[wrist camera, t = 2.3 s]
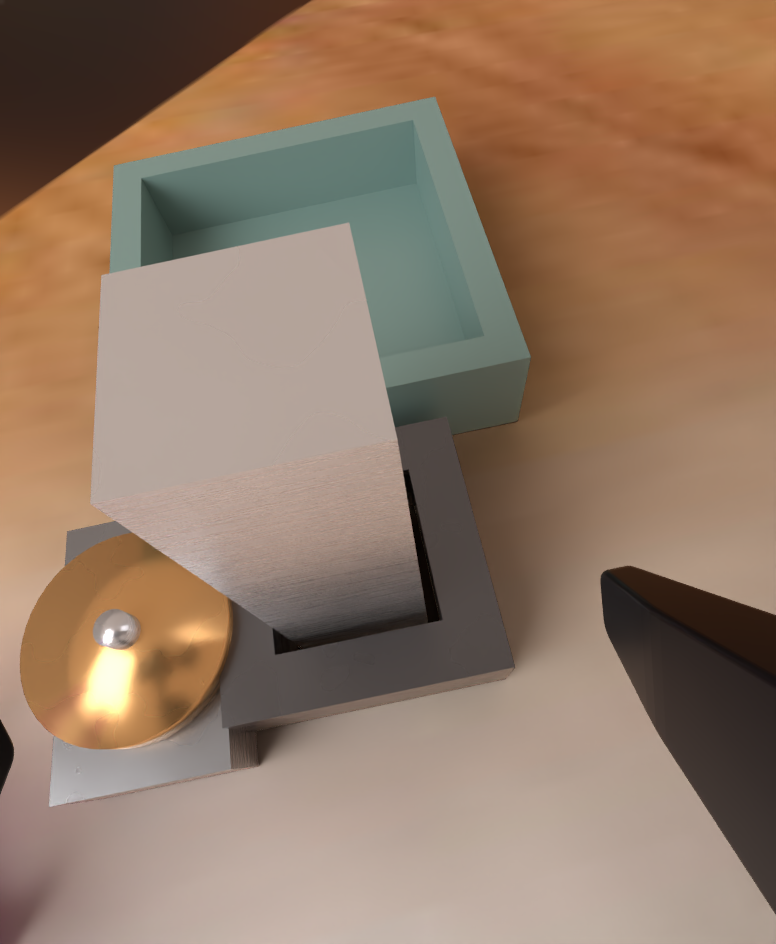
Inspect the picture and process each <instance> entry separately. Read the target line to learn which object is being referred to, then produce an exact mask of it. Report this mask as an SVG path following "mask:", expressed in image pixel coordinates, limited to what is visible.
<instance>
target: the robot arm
mask: <svg viewBox="0 0 776 944" xmlns="http://www.w3.org/2000/svg"><path fill="white" fill-rule="evenodd" d="M601 594H602V605H603V616H604V624H605V628H606V631H607V634H608V636H609V638H610V640H611V642H612V644H613V646H614V648H615V650H616V652H617V654H618V656H619V658H620V660H621V662H622V664H623V666H624V668H625V670H626V672H627V674H628V676H629V678H630V680H631V682H632V684H633V686H634V688H635V690H636V692H637V694H638V696H639V698H640V700H641V702H642V704H643V706H644V708H645V710H646V712H647V714H648V716H649V718H650V719H651V721H652V723H653V725H654V727H655V729H656V731H657V732H658V734H659V735H660V737H661V739H662V740H663V742H664V744H665V745H666V747H667V748H668V750H669V751H670V753H671V754H672V756H673V758H674V759H675V761H676V762H677V764H678V765H679V767H680V768H681V770H682V771H683V773H684V774H685V776H686V778H687V779H688V781H689V782H690V784H691V785H692V787H693V788H694V790H695V791H696V793H697V794H698V796H699V797H700V799H701V801H702V802H703V804H704V805H705V807H706V808H707V810H708V811H709V813H710V814H711V816H712V817H713V819H714V821H715V822H716V824H717V825H718V827H719V828H720V830H721V831H722V833H723V834H724V836H725V837H726V839H727V840H728V842H729V844H730V845H731V847H732V848H733V850H734V851H735V853H736V854H737V856H738V857H739V859H740V860H741V862H742V863H743V865H744V867H745V868H746V870H747V871H748V873H749V874H750V876H751V877H752V879H753V880H754V882H755V883H756V885H757V887H758V888H759V890H760V891H761V893H762V894H763V896H764V897H765V899H766V900H767V902H768V903H769V905H770V906H771V908H772V910H773V911H774V913H775V914H776V615H774V614H771V613H768V612H765V611H762V610H759V609H756V608H753V607H750V606H747V605H744V604H741V603H738V602H736V601H733V600H730V599H727V598H724V597H721V596H718V595H715V594H712V593H709V592H706V591H703V590H700V589H697V588H695V587H692V586H689V585H686V584H683V583H680V582H677V581H674V580H671V579H668V578H665V577H662V576H659V575H656V574H654V573H651V572H648V571H645V570H642V569H639V568H636V567H633V566H624V567H619V568H615V569H610V570H606V571H604V572H603V573H602V575H601ZM13 757H14V747H13V743H12V741H11V739H10V737H9V735H8V733H7V731H6V729H5V727H4V725H3V724H2V722H1V720H0V794H1V791H2V789H3V786H4V783H5V781H6V778H7V775H8V773H9V770H10V768H11V765H12V762H13Z"/></svg>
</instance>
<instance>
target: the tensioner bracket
mask: <svg viewBox="0 0 776 944" xmlns="http://www.w3.org/2000/svg"><path fill="white" fill-rule="evenodd" d="M395 431H396V435H397V440H398V446H399V452H400V458H401V464H402V470H403V476H404V482H405V488H406V494H407V500H408V506H412V505H414V508H415V512H416V517H417V521H418V526H419V530H420V535H421V539H422V543H423V548H424V552H425V557H426V561H427V566H428V570H429V575H430V579H431V584H432V588H433V593H434V597H435V601H436V606H437V610H438V615H439V619H440V621H436V622H431V623H427V624H422V625H417V626H412V627H408V628H403V629H398V630H393V631H388V632H384V633H379V634H374V635H369V636H365V637H360V638H355V639H350V640H345V641H341V642H336V643H331V644H326V645H322V646H317V647H312V648H307V649H302V650H298V648H297V644H296V643H294V642H293V641H291V640H290V639H288V638H287V637H285V636H284V635H282V634H281V633H279V632H278V631H276V630H275V629H274V628H272V627H271V626H269V625H268V624H266V623H265V622H263V621H262V620H260V619H259V618H257V617H256V616H254V615H253V614H251V613H250V612H249V611H247V610H246V609H244V608H243V607H241V606H240V605H238V604H237V603H235V602H234V601H232V600H231V599H229V598H228V597H227V596H225V595H224V594H222V593H221V592H219V591H218V590H216V589H215V588H213V587H212V586H210V585H209V584H207V583H206V582H204V581H203V580H202V579H200V578H199V577H197V576H196V575H194V574H193V573H191V572H190V571H188V570H187V569H185V568H184V567H182V566H181V565H180V564H178V563H177V562H175V561H174V560H172V559H171V558H169V557H168V556H166V555H165V554H163V553H162V552H160V551H159V550H157V549H156V548H155V547H153V546H152V545H150V544H149V543H147V542H146V541H144V540H143V539H141V538H140V537H138V536H137V535H135V534H134V533H132V532H131V531H130V530H128V529H127V528H125V527H124V526H122V525H121V524H119V523H118V522H116V521H114V522H109V523H105V524H100V525H95V526H90V527H86V528H81V529H76V530H71V531H67V542H66V557H65V567H64V568H63V569H62V570H61V571H60V572H59V573H58V574H57V575H56V576H55V577H54V578H53V580H52V581H51V582H50V583H49V585H48V586H47V587H46V589H45V590H44V592H43V593H42V595H41V596H40V598H39V599H38V601H37V603H36V605H35V607H34V609H33V611H32V613H31V615H30V618H29V620H28V623H27V625H26V629H25V633H24V636H23V640H22V646H21V653H20V674H21V682H22V687H23V691H24V695H25V697H26V700H27V702H28V705H29V707H30V709H31V710H32V712H33V713H34V715H35V717H36V718H37V719H38V721H39V722H40V723H41V724H42V725H43V726H44V728H46V729H47V730H48V731H49V732H51V733H52V734H53V735H54V738H53V754H52V769H51V784H50V799H49V807H52V806H59V805H66V804H73V803H79V802H86V801H93V800H100V799H105V798H109V797H114V796H119V795H124V794H129V793H133V792H138V791H143V790H148V789H152V788H157V787H162V786H167V785H172V784H176V783H181V782H186V781H191V780H196V779H200V778H205V777H210V776H215V775H220V774H224V773H229V772H234V771H239V770H244V769H248V768H253V767H258V766H259V764H258V751H257V738H256V731H260V730H264V729H269V728H274V727H279V726H284V725H288V724H293V723H298V722H303V721H308V720H312V719H317V718H322V717H327V716H332V715H336V714H341V713H346V712H351V711H356V710H360V709H365V708H370V707H375V706H379V705H384V704H389V703H394V702H399V701H403V700H408V699H413V698H418V697H423V696H427V695H432V694H437V693H442V692H447V691H451V690H456V689H461V688H466V687H471V686H475V685H480V684H485V683H490V682H494V681H499V680H504V679H506V678H507V676H508V675H509V674H510V673H511V672H512V670H513V669H514V668H515V666H514V662H513V658H512V654H511V651H510V647H509V643H508V640H507V636H506V632H505V629H504V625H503V621H502V618H501V614H500V610H499V607H498V603H497V599H496V596H495V592H494V588H493V585H492V581H491V577H490V574H489V570H488V566H487V563H486V559H485V555H484V552H483V548H482V544H481V541H480V537H479V533H478V530H477V526H476V522H475V519H474V515H473V511H472V507H471V504H470V500H469V496H468V493H467V489H466V485H465V482H464V478H463V474H462V471H461V467H460V463H459V460H458V456H457V452H456V449H455V445H454V441H453V438H452V434H451V430H450V427H449V423H448V419H447V417H442V418H437V419H432V420H428V421H423V422H418V423H413V424H409V425H404V426H399V427H395Z"/></svg>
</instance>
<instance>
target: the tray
mask: <svg viewBox="0 0 776 944" xmlns="http://www.w3.org/2000/svg"><path fill="white" fill-rule="evenodd" d="M344 223H349V224H350V229H351V233H352V238H353V242H354V247H355V251H356V256H357V260H358V265H359V269H360V274H361V278H362V283H363V287H364V292H365V296H366V301H367V305H368V310H369V314H370V319H371V323H372V328H373V332H374V337H375V341H376V346H377V350H378V355H379V359H380V363H381V368H382V372H383V377H384V381H385V386H386V390H387V395H388V399H389V404H390V408H391V413H392V417H393V422H394V426H395V427H399V426H404V425H409V424H413V423H418V422H423V421H428V420H432V419H437V418H442V417H447V419H448V423H449V427H450V430H451V434H452V435H454V434H459V433H463V432H468V431H473V430H478V429H482V428H487V427H492V426H497V425H501V424H506V423H511V422H516V421H518V417H519V412H520V408H521V403H522V398H523V393H524V388H525V384H526V379H527V374H528V369H529V365H530V360H531V356H530V353H529V350H528V348H527V345H526V342H525V340H524V337H523V334H522V331H521V329H520V326H519V323H518V321H517V318H516V315H515V313H514V310H513V307H512V304H511V302H510V299H509V296H508V294H507V291H506V288H505V285H504V283H503V280H502V277H501V275H500V272H499V269H498V266H497V264H496V261H495V258H494V256H493V253H492V250H491V247H490V245H489V242H488V239H487V237H486V234H485V231H484V228H483V226H482V223H481V220H480V218H479V215H478V212H477V209H476V207H475V204H474V201H473V199H472V196H471V193H470V190H469V188H468V185H467V182H466V180H465V177H464V174H463V171H462V169H461V166H460V163H459V161H458V158H457V155H456V152H455V150H454V147H453V144H452V142H451V139H450V136H449V133H448V131H447V128H446V125H445V123H444V120H443V117H442V114H441V112H440V109H439V106H438V104H437V101H436V98H435V97H432V98H427V99H422V100H418V101H413V102H408V103H404V104H399V105H394V106H390V107H385V108H380V109H376V110H371V111H366V112H362V113H357V114H352V115H348V116H343V117H338V118H334V119H329V120H324V121H320V122H315V123H310V124H306V125H301V126H296V127H292V128H287V129H282V130H278V131H273V132H268V133H264V134H259V135H254V136H250V137H245V138H240V139H236V140H231V141H226V142H222V143H217V144H212V145H208V146H203V147H198V148H194V149H189V150H184V151H180V152H175V153H170V154H166V155H161V156H156V157H152V158H147V159H142V160H138V161H133V162H128V163H124V164H119V165H114V177H113V202H112V227H111V252H110V273H114V272H119V271H124V270H128V269H133V268H138V267H142V266H147V265H152V264H156V263H161V262H166V261H170V260H175V259H180V258H185V257H189V256H194V255H199V254H203V253H208V252H213V251H217V250H222V249H227V248H231V247H236V246H241V245H246V244H250V243H255V242H260V241H264V240H269V239H274V238H278V237H283V236H288V235H293V234H297V233H302V232H307V231H311V230H316V229H321V228H325V227H330V226H335V225H339V224H344Z"/></svg>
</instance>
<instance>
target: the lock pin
mask: <svg viewBox="0 0 776 944" xmlns="http://www.w3.org/2000/svg"><path fill="white" fill-rule="evenodd" d="M90 504H91V505H93V506H94V507H96V508H97V509H99V510H100V511H102V512H103V513H105V514H106V515H108V516H109V517H110V518H112V519H113V520H115V521H116V522H118V523H119V524H121V525H122V526H124V527H125V528H127V529H128V530H130V531H131V532H132V533H134V534H135V535H137V536H138V537H140V538H141V539H143V540H144V541H146V542H147V543H149V544H150V545H152V546H153V547H155V548H156V549H157V550H159V551H160V552H162V553H163V554H165V555H166V556H168V557H169V558H171V559H172V560H174V561H175V562H177V563H178V564H180V565H181V566H182V567H184V568H185V569H187V570H188V571H190V572H191V573H193V574H194V575H196V576H197V577H199V578H200V579H202V580H203V581H204V582H206V583H207V584H209V585H210V586H212V587H213V588H215V589H216V590H218V591H219V592H221V593H222V594H224V595H225V596H227V597H228V598H229V599H231V600H232V601H234V602H235V603H237V604H238V605H240V606H241V607H243V608H244V609H246V610H247V611H249V612H250V613H251V614H253V615H254V616H256V617H257V618H259V619H260V620H262V621H263V622H265V623H266V624H268V625H269V626H271V627H272V628H274V629H275V630H276V631H278V632H279V633H281V634H282V635H284V636H285V637H287V638H288V639H290V640H291V641H293V642H294V643H296V644H297V645H299V646H300V647H301V648H303V649H307V648H312V647H317V646H322V645H326V644H331V643H336V642H341V641H345V640H350V639H355V638H360V637H365V636H369V635H374V634H379V633H384V632H388V631H393V630H398V629H403V628H408V627H412V626H417V625H422V624H427V623H428V619H427V613H426V607H425V601H424V595H423V589H422V583H421V577H420V571H419V565H418V559H417V553H416V547H415V541H414V535H413V530H412V524H411V518H410V512H409V506H408V500H407V494H406V488H405V482H404V476H403V470H402V464H401V458H400V452H399V446H398V440H397V435H396V431H395V426H394V422H393V417H392V413H391V408H390V404H389V399H388V395H387V390H386V386H385V381H384V377H383V372H382V368H381V363H380V359H379V355H378V350H377V346H376V341H375V337H374V332H373V328H372V323H371V319H370V314H369V310H368V305H367V301H366V296H365V292H364V287H363V283H362V278H361V274H360V269H359V265H358V260H357V256H356V251H355V247H354V242H353V238H352V233H351V229H350V224H349V223H344V224H339V225H335V226H330V227H325V228H321V229H316V230H311V231H307V232H302V233H297V234H293V235H288V236H283V237H278V238H274V239H269V240H264V241H260V242H255V243H250V244H246V245H241V246H236V247H231V248H227V249H222V250H217V251H213V252H208V253H203V254H199V255H194V256H189V257H185V258H180V259H175V260H170V261H166V262H161V263H156V264H152V265H147V266H142V267H138V268H133V269H128V270H124V271H119V272H114V273H109V274H105V275H102V276H101V296H100V317H99V338H98V358H97V379H96V400H95V420H94V441H93V461H92V482H91V503H90Z"/></svg>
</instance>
